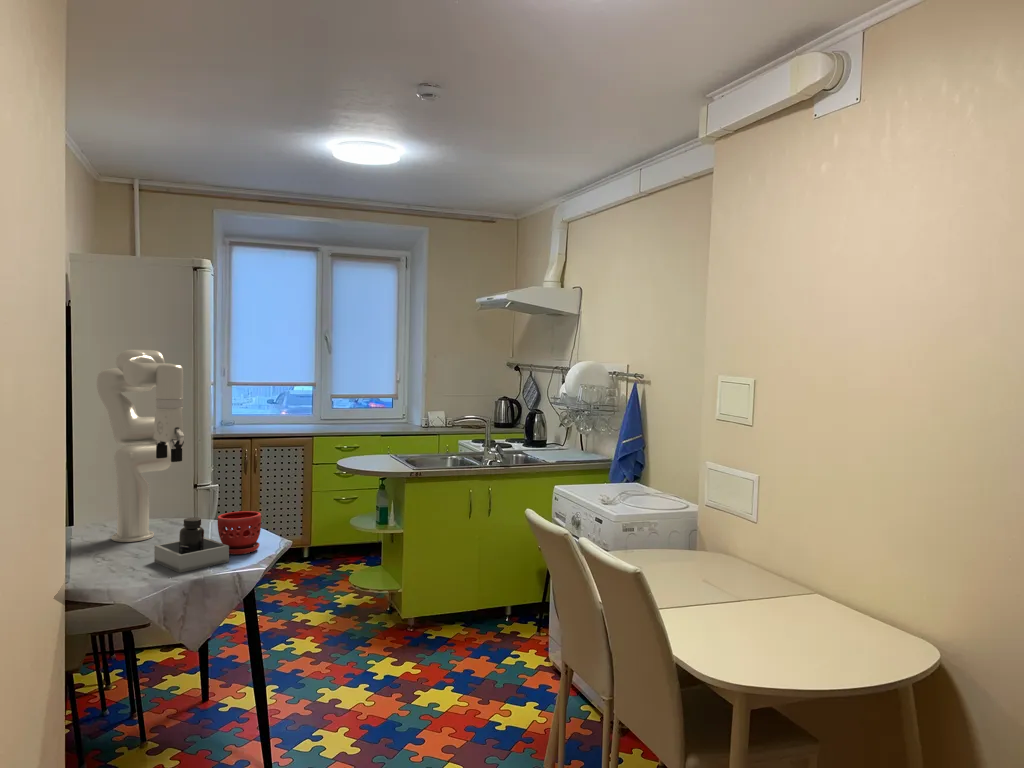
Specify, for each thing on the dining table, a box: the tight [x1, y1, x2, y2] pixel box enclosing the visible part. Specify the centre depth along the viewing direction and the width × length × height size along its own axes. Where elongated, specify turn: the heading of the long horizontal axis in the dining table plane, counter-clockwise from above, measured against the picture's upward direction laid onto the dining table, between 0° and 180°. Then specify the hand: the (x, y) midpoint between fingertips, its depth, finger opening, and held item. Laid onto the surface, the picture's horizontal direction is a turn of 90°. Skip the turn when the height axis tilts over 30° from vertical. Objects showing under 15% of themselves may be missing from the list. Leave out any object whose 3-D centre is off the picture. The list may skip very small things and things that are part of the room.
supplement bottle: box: [178, 517, 205, 554], centre depth 212 cm, size 7×7×12 cm
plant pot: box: [217, 510, 262, 555], centre depth 225 cm, size 13×13×12 cm
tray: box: [153, 536, 230, 574], centre depth 213 cm, size 16×15×5 cm
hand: (169, 459), depth 217 cm, fingers open, 9 cm apart
